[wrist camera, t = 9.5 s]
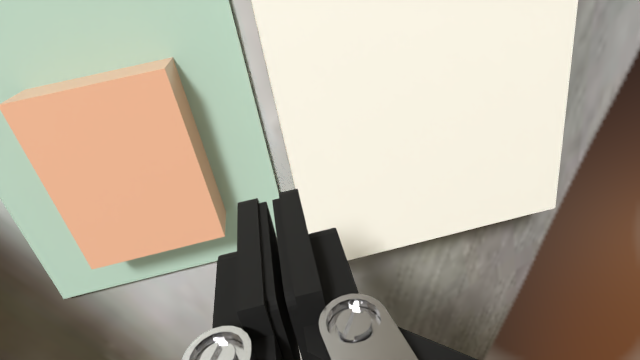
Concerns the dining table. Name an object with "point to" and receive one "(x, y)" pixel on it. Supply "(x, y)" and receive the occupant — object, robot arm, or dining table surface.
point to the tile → (121, 161)
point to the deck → (418, 111)
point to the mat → (115, 53)
